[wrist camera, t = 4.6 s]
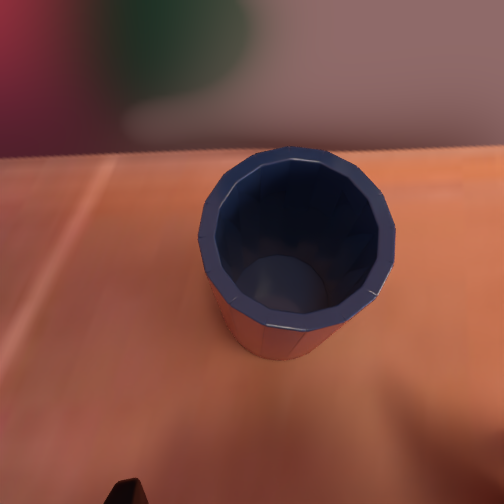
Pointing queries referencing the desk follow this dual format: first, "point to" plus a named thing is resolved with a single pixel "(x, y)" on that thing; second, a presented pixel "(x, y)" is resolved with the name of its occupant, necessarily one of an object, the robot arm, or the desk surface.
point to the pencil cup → (294, 248)
